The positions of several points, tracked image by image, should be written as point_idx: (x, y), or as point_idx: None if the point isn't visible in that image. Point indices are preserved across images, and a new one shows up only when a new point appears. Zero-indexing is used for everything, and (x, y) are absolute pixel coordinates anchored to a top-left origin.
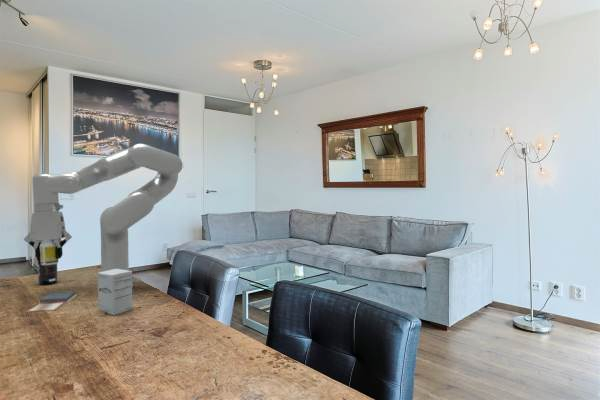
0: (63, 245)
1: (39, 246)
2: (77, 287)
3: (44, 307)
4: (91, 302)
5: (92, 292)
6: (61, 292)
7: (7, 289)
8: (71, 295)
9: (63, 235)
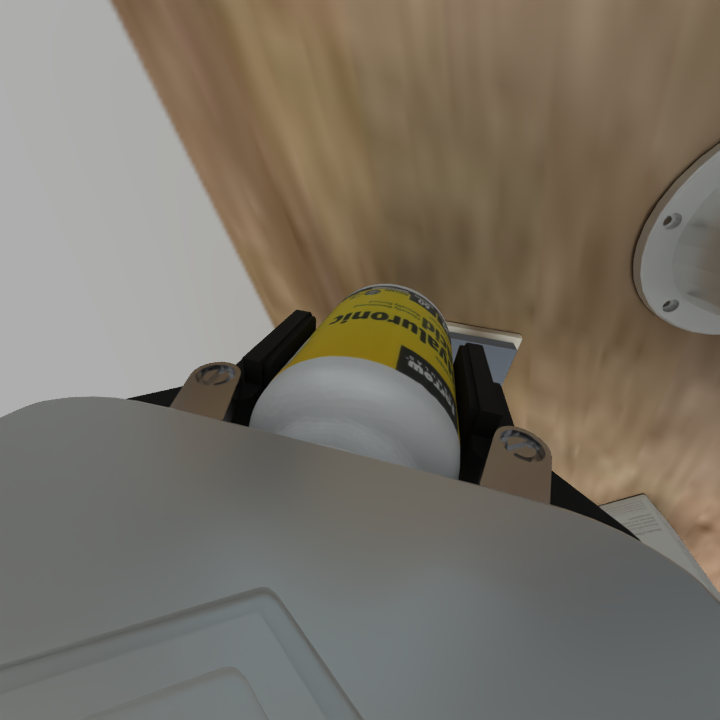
0: (545, 446)
1: (248, 420)
2: (531, 104)
3: None
4: (565, 428)
5: (599, 278)
6: (458, 343)
7: (130, 23)
8: (500, 383)
9: (673, 586)
